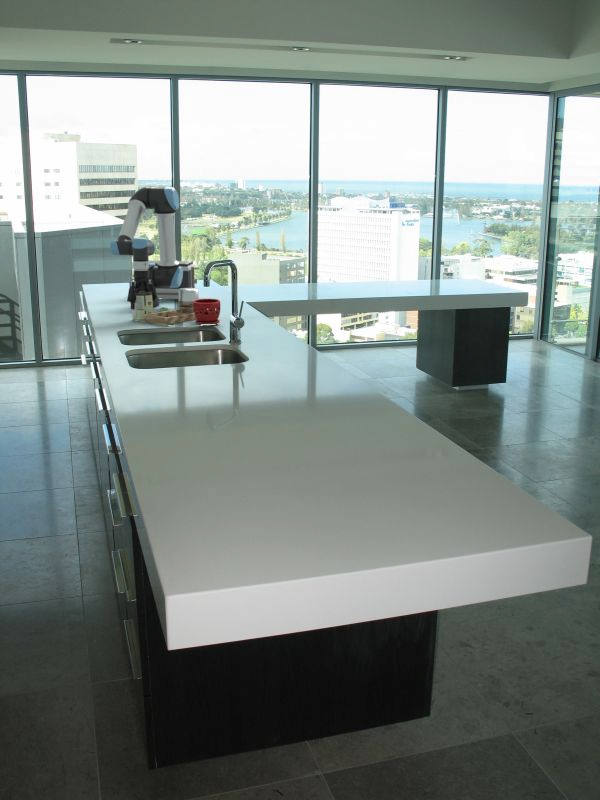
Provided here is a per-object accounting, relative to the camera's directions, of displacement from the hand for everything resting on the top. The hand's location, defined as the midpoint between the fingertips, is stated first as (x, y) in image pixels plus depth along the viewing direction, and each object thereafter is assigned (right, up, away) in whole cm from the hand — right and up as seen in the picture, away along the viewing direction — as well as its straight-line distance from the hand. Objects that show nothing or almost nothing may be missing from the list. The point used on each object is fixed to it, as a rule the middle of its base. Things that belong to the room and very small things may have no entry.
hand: (142, 314), depth 417 cm
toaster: (+2, +18, +81) cm, 83 cm away
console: (+9, 0, +11) cm, 14 cm away
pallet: (+18, -3, +1) cm, 18 cm away
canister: (+22, -1, +6) cm, 23 cm away
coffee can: (0, -3, +1) cm, 3 cm away
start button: (+9, +1, +11) cm, 14 cm away
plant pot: (+33, -6, -10) cm, 35 cm away
